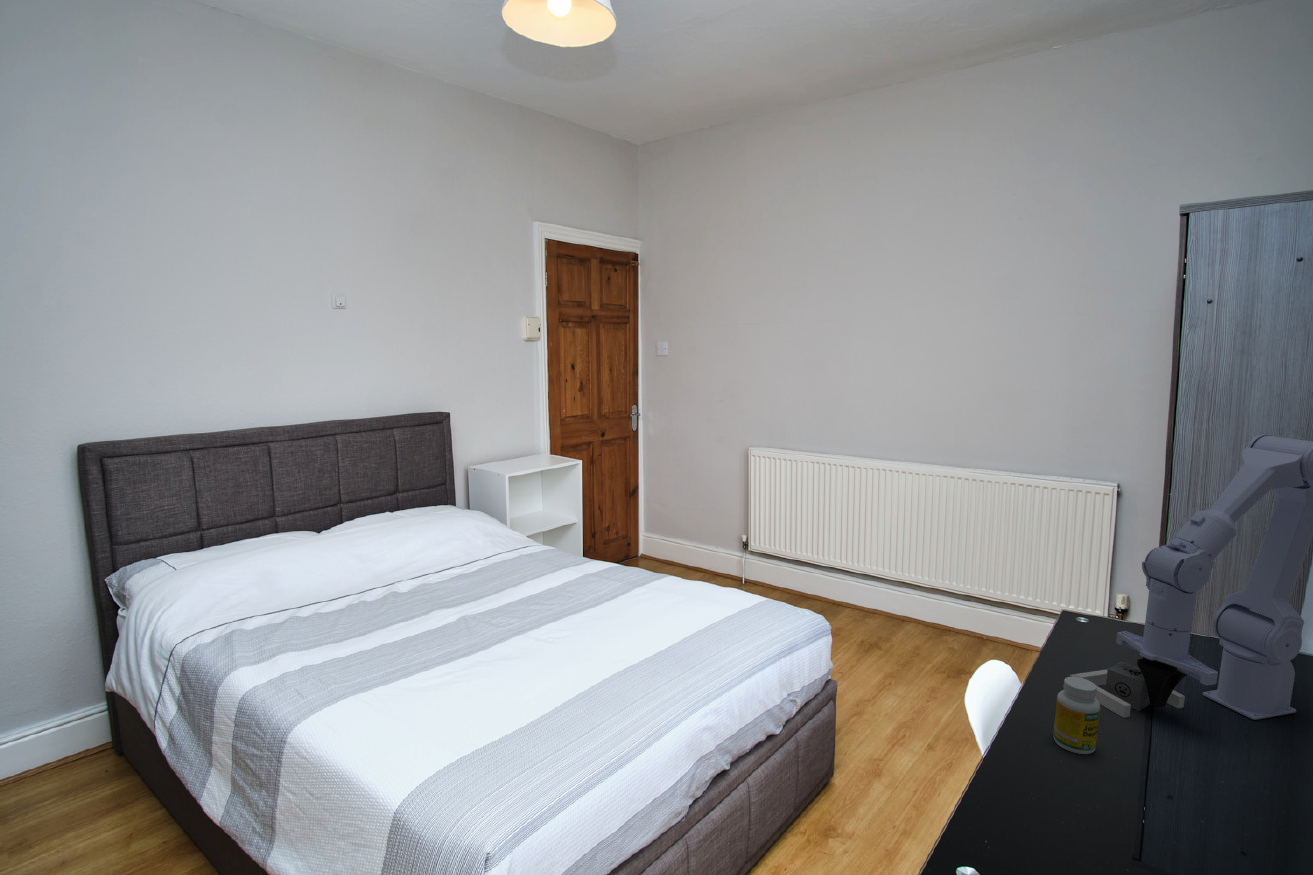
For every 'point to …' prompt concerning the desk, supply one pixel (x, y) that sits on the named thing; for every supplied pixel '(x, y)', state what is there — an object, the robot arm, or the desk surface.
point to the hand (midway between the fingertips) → (1157, 705)
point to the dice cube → (1127, 685)
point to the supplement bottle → (1077, 716)
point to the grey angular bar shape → (1113, 701)
